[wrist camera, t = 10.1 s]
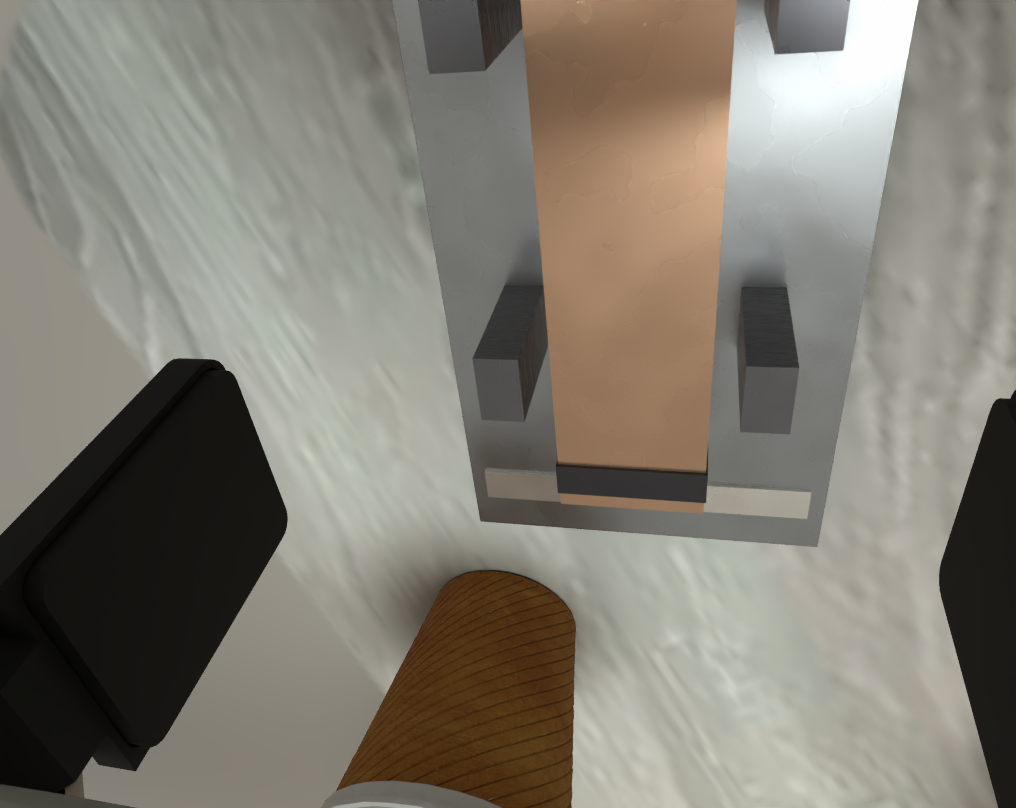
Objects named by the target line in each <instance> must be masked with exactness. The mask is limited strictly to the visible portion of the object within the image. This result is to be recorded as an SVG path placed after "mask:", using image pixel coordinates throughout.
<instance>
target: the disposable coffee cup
mask: <svg viewBox="0 0 1016 808" xmlns="http://www.w3.org/2000/svg"><path fill="white" fill-rule="evenodd" d="M575 635H576V625H575V622H574V619H573V616H572V614H571V612H570V611H569V609H568V607H567V606H566V605H565V604H564V603H563V602H562V601H561V600H560V599H559V598H558V597H557V596H556V595H555V594H554V593H552V592H551V591H549V590H548V589H547V588H545V587H543V586H542V585H540V584H538V583H536V582H534V581H531V580H529V579H526V578H524V577H521V576H517V575H513V574H509V573H503V572H495V571H479V572H473V573H467V574H464V575H462V576H459V577H457V578H454V579H453V580H451V581H450V582H448V583H447V584H446V585H445V586H444V587H443V588H442V589H441V590H440V592H439V594H438V596H437V598H436V601H435V603H434V605H433V606H432V608H431V610H430V612H429V614H428V615H427V617H426V619H425V621H424V623H423V625H422V627H421V629H420V631H419V633H418V635H417V637H416V638H415V640H414V642H413V644H412V646H411V648H410V650H409V652H408V654H407V655H406V657H405V659H404V661H403V663H402V665H401V667H400V669H399V671H398V673H397V674H396V676H395V678H394V680H393V682H392V685H391V686H390V688H389V690H388V692H387V694H386V696H385V698H384V700H383V702H382V704H381V706H380V708H379V710H378V712H377V714H376V716H375V717H374V719H373V721H372V723H371V725H370V727H369V729H368V731H367V733H366V735H365V737H364V739H363V741H362V742H361V744H360V746H359V748H358V750H357V752H356V754H355V756H354V757H353V759H352V761H351V763H350V765H349V767H348V769H347V771H346V773H345V774H344V776H343V778H342V780H341V782H340V784H339V786H338V788H337V790H336V792H335V793H333V794H332V795H331V796H330V797H329V798H327V799H326V800H325V802H324V804H323V806H322V807H321V808H572V807H571V800H572V773H573V769H572V765H573V755H572V751H573V719H574V709H573V705H574V664H575Z"/></svg>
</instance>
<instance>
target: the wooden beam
mask: <svg viewBox="0 0 1016 808" xmlns="http://www.w3.org/2000/svg"><path fill="white" fill-rule="evenodd" d="M736 3H737V0H521V13H522V25H523V37H524V50H525V62H526V74H527V87H528V99H529V112H530V124H531V136H532V149H533V161H534V173H535V186H536V198H537V211H538V223H539V235H540V248H541V260H542V273H543V285H544V297H545V310H546V322H547V334H548V347H549V359H550V372H551V384H552V396H553V409H554V421H555V434H556V446H557V458H558V459H557V463H556V477H557V489H558V493H560V495H561V504H573V505H587V506H601V507H615V508H629V509H643V510H657V511H671V512H685V513H699V514H703V512H704V503H706V497H707V482H708V435H709V419H710V404H711V389H712V373H713V358H714V342H715V327H716V312H717V296H718V281H719V265H720V250H721V235H722V219H723V204H724V188H725V173H726V157H727V142H728V127H729V111H730V96H731V80H732V65H733V50H734V34H735V19H736Z"/></svg>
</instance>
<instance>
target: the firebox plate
mask: <svg viewBox="0 0 1016 808" xmlns="http://www.w3.org/2000/svg"><path fill="white" fill-rule="evenodd" d="M392 2H393V8H394V14H395V20H396V26H397V32H398V37H399V43H400V49H401V55H402V61H403V67H404V73H405V79H406V85H407V91H408V96H409V102H410V108H411V114H412V120H413V126H414V132H415V138H416V144H417V150H418V155H419V161H420V167H421V173H422V179H423V185H424V191H425V197H426V203H427V209H428V214H429V220H430V226H431V232H432V238H433V244H434V250H435V256H436V262H437V267H438V273H439V279H440V285H441V291H442V297H443V303H444V309H445V315H446V321H447V326H448V332H449V338H450V344H451V350H452V356H453V362H454V368H455V374H456V380H457V385H458V391H459V397H460V403H461V409H462V415H463V421H464V427H465V433H466V439H467V444H468V450H469V456H470V462H471V468H472V474H473V480H474V486H475V492H476V497H477V503H478V509H479V515H480V521H484V522H497V523H510V524H523V525H537V526H550V527H563V528H576V529H589V530H602V531H615V532H628V533H641V534H654V535H667V536H681V537H694V538H707V539H720V540H733V541H746V542H759V543H772V544H785V545H798V546H811V547H817V546H818V540H819V535H820V529H821V524H822V519H823V513H824V508H825V502H826V497H827V491H828V486H829V481H830V475H831V470H832V464H833V459H834V454H835V448H836V443H837V437H838V432H839V426H840V421H841V416H842V410H843V405H844V399H845V394H846V388H847V383H848V378H849V372H850V367H851V361H852V356H853V351H854V345H855V340H856V334H857V329H858V323H859V318H860V313H861V307H862V302H863V296H864V291H865V285H866V280H867V275H868V269H869V264H870V258H871V253H872V247H873V242H874V237H875V231H876V226H877V220H878V215H879V210H880V204H881V199H882V193H883V188H884V182H885V177H886V172H887V166H888V161H889V155H890V150H891V144H892V139H893V134H894V128H895V123H896V117H897V112H898V107H899V101H900V96H901V90H902V85H903V79H904V74H905V69H906V63H907V58H908V52H909V47H910V41H911V36H912V31H913V25H914V20H915V14H916V9H917V4H918V0H737V3H736V19H735V34H734V50H733V65H732V80H731V96H730V111H729V127H728V142H727V157H726V173H725V188H724V204H723V219H722V235H721V250H720V265H719V281H718V296H717V312H716V327H715V342H714V358H713V373H712V389H711V404H710V419H709V435H708V482H707V497H706V503H704V512H703V514H699V513H685V512H671V511H657V510H643V509H629V508H615V507H601V506H587V505H573V504H561V495H560V493H558V489H557V477H556V463H557V459H558V458H557V446H556V434H555V421H554V409H553V396H552V384H551V372H550V359H549V347H548V334H547V322H546V310H545V297H544V285H543V273H542V260H541V248H540V235H539V223H538V211H537V198H536V186H535V173H534V161H533V149H532V136H531V124H530V112H529V99H528V87H527V74H526V62H525V50H524V37H523V25H522V13H521V0H392Z"/></svg>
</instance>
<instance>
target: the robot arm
mask: <svg viewBox="0 0 1016 808" xmlns="http://www.w3.org/2000/svg"><path fill="white" fill-rule="evenodd" d="M287 520H288V519H287V511H286V508H285V505H284V502H283V500H282V497H281V495H280V492H279V489H278V487H277V484H276V482H275V479H274V476H273V474H272V471H271V468H270V466H269V463H268V461H267V458H266V455H265V453H264V450H263V448H262V445H261V442H260V440H259V437H258V435H257V432H256V429H255V427H254V424H253V422H252V419H251V416H250V414H249V411H248V408H247V406H246V403H245V401H244V398H243V395H242V393H241V390H240V388H239V385H238V382H237V380H236V378H235V376H234V375H233V374H232V373H231V372H229V371H226V370H225V368H224V366H223V365H222V364H221V363H220V362H219V361H216V360H211V359H181V358H179V359H173V360H172V361H170V362H169V363H167V364H166V365H165V366H164V367H163V369H162V370H161V371H160V372H159V373H158V374H157V375H156V376H155V377H154V378H153V379H152V380H151V381H150V382H149V383H148V384H147V385H146V386H145V387H144V388H143V389H142V390H141V391H140V392H139V393H138V394H137V395H136V396H135V397H134V398H133V400H132V401H130V402H129V404H128V405H127V406H126V407H125V408H124V409H123V410H122V411H121V412H120V413H119V414H118V415H117V416H116V417H115V418H114V419H113V420H112V421H111V422H110V423H109V424H108V425H107V426H106V427H105V428H104V429H103V430H102V431H101V432H100V433H99V434H98V435H97V436H96V437H95V439H94V440H93V441H92V442H91V443H90V444H89V445H88V446H87V447H86V448H85V449H84V450H83V451H82V452H81V453H80V454H79V455H78V456H77V457H76V458H75V459H74V460H73V461H72V462H71V463H70V464H69V465H68V466H67V467H66V468H65V469H64V470H63V471H62V472H61V473H60V474H59V476H58V477H57V478H56V479H55V480H54V481H53V482H52V483H51V484H50V485H49V486H48V487H47V488H46V489H45V490H44V491H43V492H42V493H41V494H40V495H39V496H38V497H37V498H36V499H35V500H34V501H33V502H32V503H31V504H30V505H29V506H28V507H27V508H26V509H25V511H24V512H23V513H22V514H21V515H20V516H19V517H18V518H17V519H16V520H15V521H14V522H13V523H12V524H11V525H10V526H9V527H8V528H7V529H6V530H5V531H4V532H3V533H2V534H1V535H0V808H134V807H129V806H123V805H118V804H112V803H107V802H101V801H96V800H90V799H85V798H84V788H83V775H82V771H83V769H84V768H85V766H86V765H87V763H88V762H89V760H90V759H91V757H93V758H94V759H95V760H96V762H97V763H98V764H99V765H103V766H109V767H114V768H120V769H126V770H132V771H136V770H137V768H138V767H139V765H140V763H141V762H142V760H143V758H144V757H145V755H146V753H147V752H148V750H149V748H150V747H153V746H156V745H157V744H159V743H160V742H161V741H162V740H163V739H164V737H165V736H166V734H167V733H168V731H169V730H170V728H171V726H172V724H173V723H174V721H175V719H176V718H177V716H178V714H179V713H180V711H181V709H182V707H183V706H184V704H185V702H186V701H187V699H188V697H189V696H190V694H191V692H192V691H193V689H194V687H195V685H196V684H197V682H198V680H199V678H200V677H201V675H202V673H203V672H204V670H205V669H206V667H207V665H208V663H209V662H210V660H211V658H212V657H213V655H214V653H215V652H216V650H217V648H218V647H219V645H220V643H221V641H222V639H223V638H224V636H225V635H226V633H227V631H228V629H229V628H230V626H231V624H232V622H233V621H234V619H235V618H236V616H237V614H238V612H239V611H240V609H241V608H242V606H243V604H244V602H245V601H246V599H247V597H248V595H249V594H250V592H251V591H252V589H253V587H254V586H255V584H256V582H257V580H258V579H259V577H260V575H261V574H262V572H263V570H264V569H265V567H266V565H267V564H268V562H269V560H270V558H271V557H272V555H273V553H274V552H275V550H276V548H277V547H278V545H279V543H280V541H281V540H282V538H283V536H284V534H285V531H286V528H287ZM939 586H940V593H941V598H942V601H943V605H944V609H945V613H946V616H947V620H948V624H949V627H950V631H951V635H952V638H953V642H954V646H955V649H956V653H957V657H958V660H959V664H960V668H961V671H962V675H963V679H964V683H965V686H966V690H967V694H968V697H969V701H970V705H971V708H972V712H973V716H974V719H975V723H976V727H977V730H978V734H979V738H980V741H981V745H982V749H983V753H984V756H985V760H986V764H987V767H988V771H989V775H990V778H991V782H992V786H993V789H994V793H995V797H996V800H997V804H998V808H1016V390H1015V391H1014V393H1013V394H1012V396H1011V399H1001V398H1000V399H997V400H996V401H995V402H994V403H993V405H992V408H991V410H990V413H989V416H988V419H987V422H986V426H985V429H984V432H983V435H982V438H981V441H980V444H979V447H978V450H977V453H976V456H975V459H974V463H973V466H972V469H971V472H970V475H969V478H968V481H967V484H966V487H965V490H964V493H963V497H962V500H961V503H960V506H959V509H958V512H957V515H956V518H955V521H954V524H953V527H952V531H951V534H950V537H949V540H948V543H947V546H946V549H945V552H944V555H943V558H942V561H941V566H940V573H939Z"/></svg>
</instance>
